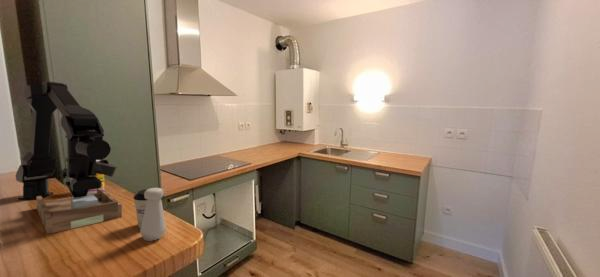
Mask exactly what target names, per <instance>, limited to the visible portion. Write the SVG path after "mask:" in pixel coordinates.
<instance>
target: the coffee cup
mask: <svg viewBox="0 0 600 277" xmlns="http://www.w3.org/2000/svg"><path fill="white" fill-rule="evenodd" d="M147 189H148V188H146V189H145V188H144V189H141V190H139V191H137V193H135V194H134V196H133V200H134V206H135V213H136V220H137V227H138V228H139V229H141V225H142V221H143V216H144V212H145V208H146V204H147V199H145V197H144V193H145V191H146V190H147Z"/></svg>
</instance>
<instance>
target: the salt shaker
mask: <svg viewBox="0 0 600 277" xmlns="http://www.w3.org/2000/svg"><path fill="white" fill-rule="evenodd" d="M146 189H147V190H146V191H145V193H144V197H145V199H147V204H146V208H145V212H144V216H143V221H142V225H141V228H139V230H140V235H141V237H142V238H143V240H144V241H146V242H154V241H158V240H160V239H161V238H162V237H163V236H164V234H165V231H166V229H167V222H166V218H165V213H164V207H163V202H162V198H163V197H164V195H165V194H164V189H163V188H160V187H151V188H146ZM157 239H158V240H157ZM153 240H154V241H153Z"/></svg>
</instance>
